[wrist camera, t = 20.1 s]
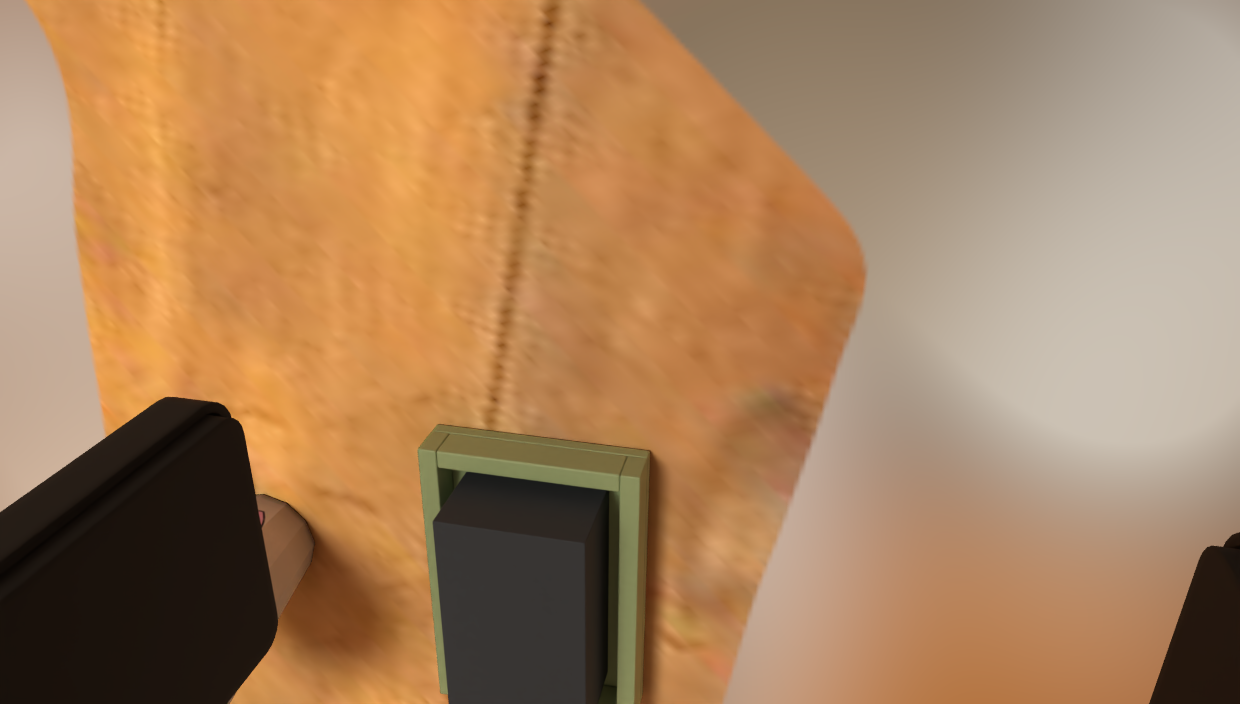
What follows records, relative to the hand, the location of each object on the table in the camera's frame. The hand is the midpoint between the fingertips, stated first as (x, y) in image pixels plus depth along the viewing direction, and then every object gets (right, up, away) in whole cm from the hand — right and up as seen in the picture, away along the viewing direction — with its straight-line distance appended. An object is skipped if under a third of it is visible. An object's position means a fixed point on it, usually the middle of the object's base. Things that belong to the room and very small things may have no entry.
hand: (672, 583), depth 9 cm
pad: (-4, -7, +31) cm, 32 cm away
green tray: (-4, -7, +32) cm, 33 cm away
